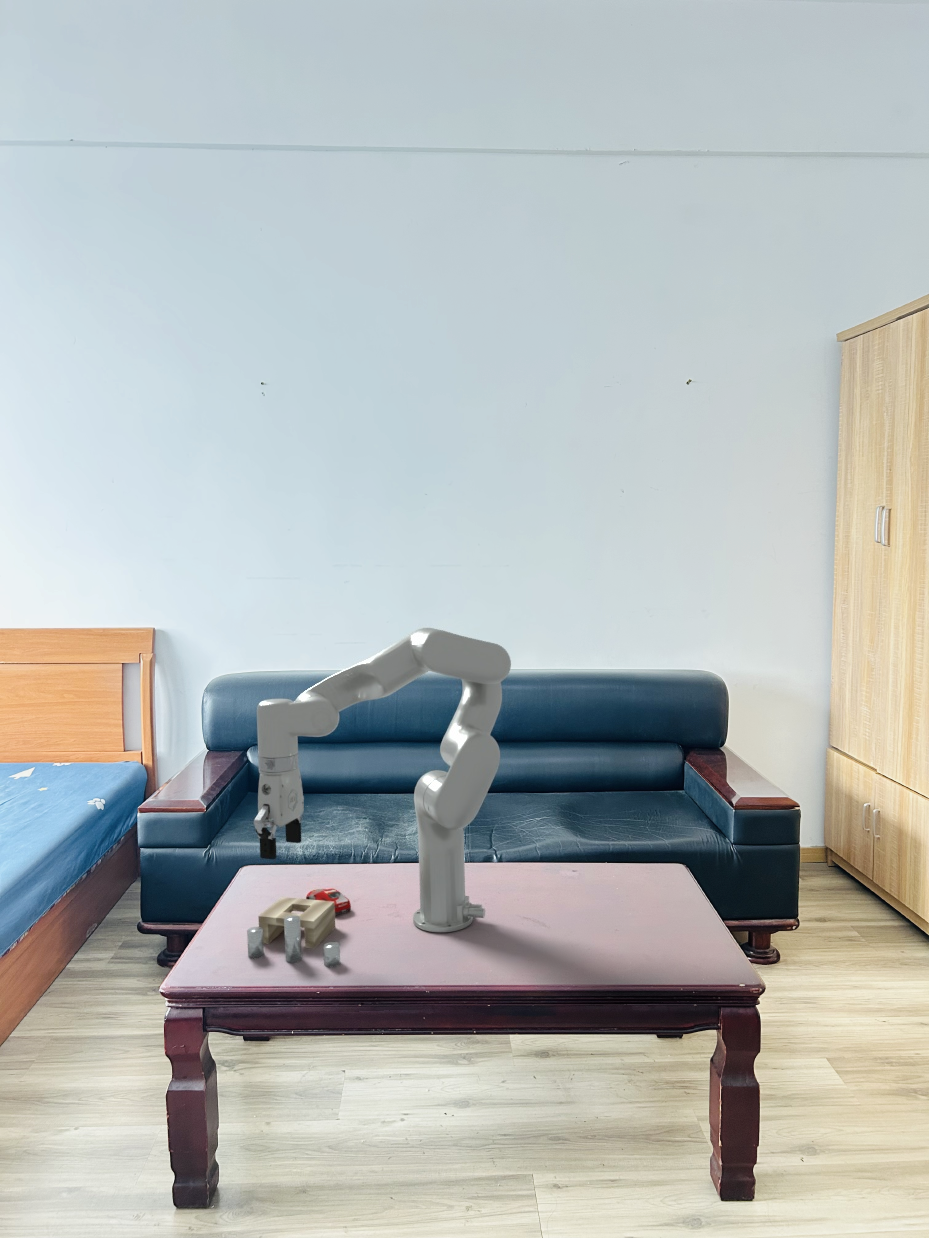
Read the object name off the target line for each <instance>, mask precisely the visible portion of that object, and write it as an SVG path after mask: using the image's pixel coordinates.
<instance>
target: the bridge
mask: <svg viewBox="0 0 929 1238" xmlns="http://www.w3.org/2000/svg"><path fill="white" fill-rule="evenodd" d="M297 912H298V913H297ZM299 912H301V913H299ZM291 915H297V916H299V917H300V929H301V928H303V929H304V948H307V949H315V948H317V947H318V945H320V944H321V943H322V942H323V941H324V939H325V938H327V937H328V935H330V934H331V933H332V931H334V930H335V928H336V915H335V904H334V902H333V901H321V900H310V899H306V898H300V897H299V898H297V897H285V896H281V897H280V898H279V899H278V900H277V901H276V900H275V902H274V903H273V904H271V905H270V906H269V907H268V908H267V909H265V910H264V911H263V912H261V913H260V914H259V915H258V927H262V928H263V941H264V944H265V945H266V944H270V943H271V942H273V940H275V939H276V938H277V937H278V936H279V935H280V934H281V933H282V932H283V931H284V918H285V917H287V916H291Z"/></svg>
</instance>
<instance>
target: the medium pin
mask: <svg viewBox="0 0 929 1238" xmlns="http://www.w3.org/2000/svg"><path fill="white" fill-rule="evenodd" d="M246 933H247V934H246V937H247V940H246V941H247V957H248V958H249V959H252V958H253V959H254V958H256V959H260V958H261V957H264V956H265V949H264V947H265V943H264V941H263V928H262V927H259V926H253V927H250V928H248V929H247V930H246ZM253 959H252V960H253ZM254 960H255V959H254Z"/></svg>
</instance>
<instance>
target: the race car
mask: <svg viewBox="0 0 929 1238" xmlns="http://www.w3.org/2000/svg"><path fill="white" fill-rule="evenodd" d="M305 899H310V900H321V901H333V902H334V904H335V916H337V915H338V916H339V915H342V914H346V913H347V912H350V911H352V905H351V901H350V899H349V898H348V897H346V895H344V894H343V893H342V892H340V891H339V890H337V889H335V888H319V889H316V888H315V889H313V890H311V891H309V892H308V893H307V895H306V897H305Z"/></svg>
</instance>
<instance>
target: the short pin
mask: <svg viewBox="0 0 929 1238" xmlns="http://www.w3.org/2000/svg"><path fill="white" fill-rule="evenodd" d="M340 947H341V946H340V943H339V942H336V941H335V942H334V941H330V942H326V943H324V944H323V965H324V966H325V967H327V968H334V967H338V966H339V965H340V964H341V951H340V950H341V949H340Z"/></svg>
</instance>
